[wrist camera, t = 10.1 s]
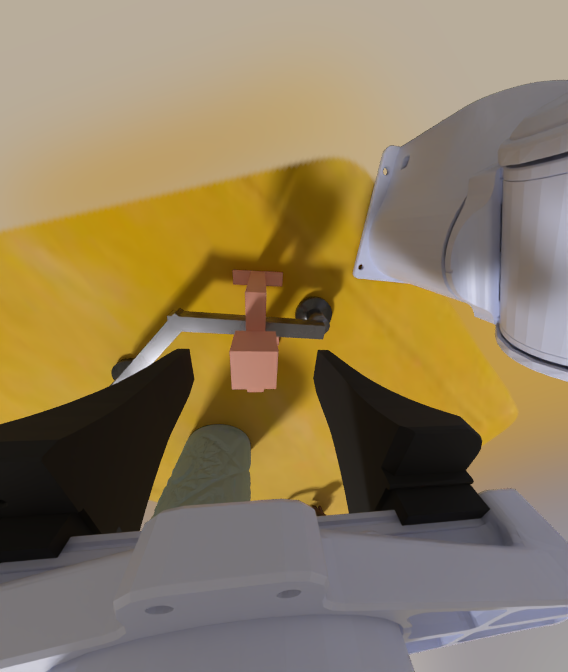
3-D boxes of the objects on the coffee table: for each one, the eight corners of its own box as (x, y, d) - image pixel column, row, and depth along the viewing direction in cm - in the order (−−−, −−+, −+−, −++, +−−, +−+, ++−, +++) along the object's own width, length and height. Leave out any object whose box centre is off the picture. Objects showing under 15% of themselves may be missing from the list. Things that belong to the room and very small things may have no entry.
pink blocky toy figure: (282, 272, 19) (300, 307, 10) (278, 343, 22) (289, 418, 13) (233, 269, 18) (205, 304, 9) (236, 343, 21) (218, 420, 13)
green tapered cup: (249, 468, 31) (242, 591, 21) (178, 466, 29) (131, 598, 19) (259, 421, 27) (258, 545, 16) (178, 415, 25) (116, 549, 15)
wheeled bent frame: (86, 277, 17) (35, 290, 13) (333, 298, 20) (350, 313, 16) (119, 385, 22) (89, 417, 19) (313, 389, 25) (322, 418, 21)
